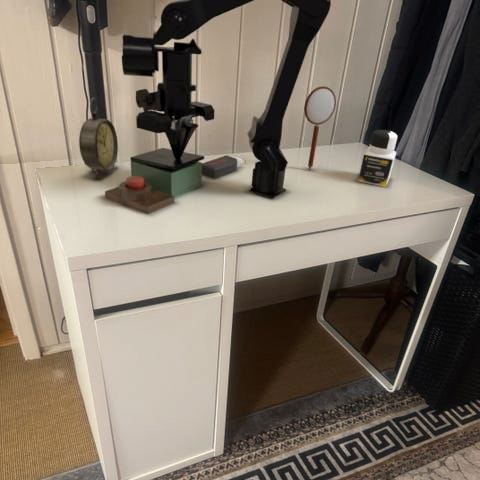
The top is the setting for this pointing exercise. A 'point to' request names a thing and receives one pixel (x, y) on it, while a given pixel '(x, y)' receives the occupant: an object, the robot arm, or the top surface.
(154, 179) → the cooker
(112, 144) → the alarm clock
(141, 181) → the button
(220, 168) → the usb drive
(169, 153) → the cooker lid
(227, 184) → the top surface
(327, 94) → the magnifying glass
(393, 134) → the medicine bottle
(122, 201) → the control block
